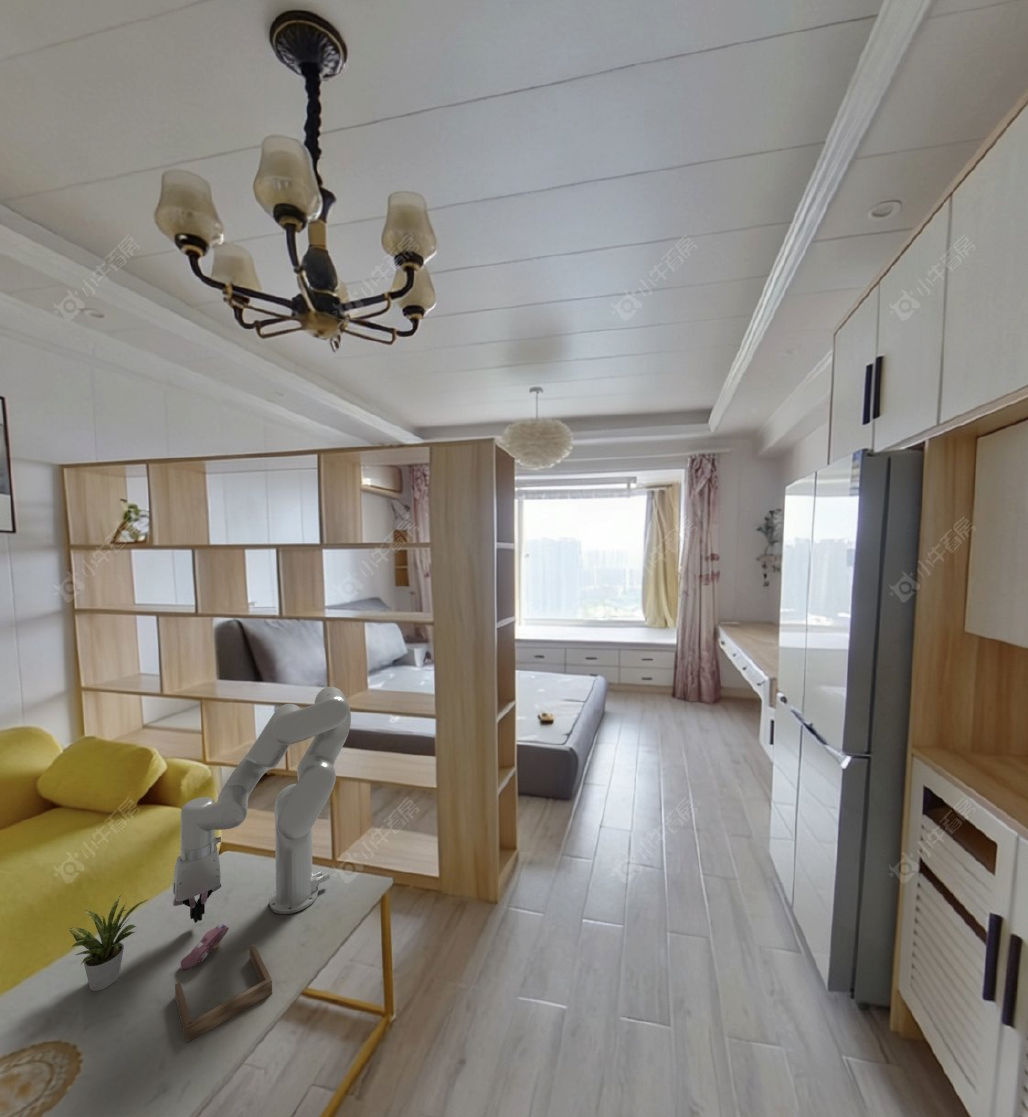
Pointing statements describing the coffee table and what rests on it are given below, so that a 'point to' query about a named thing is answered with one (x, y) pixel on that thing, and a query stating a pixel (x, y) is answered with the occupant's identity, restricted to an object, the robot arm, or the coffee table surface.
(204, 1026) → the dock bay
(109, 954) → the house plant
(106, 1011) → the coffee table surface
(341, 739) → the robot arm
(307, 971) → the coffee table surface
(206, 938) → the video game controller
